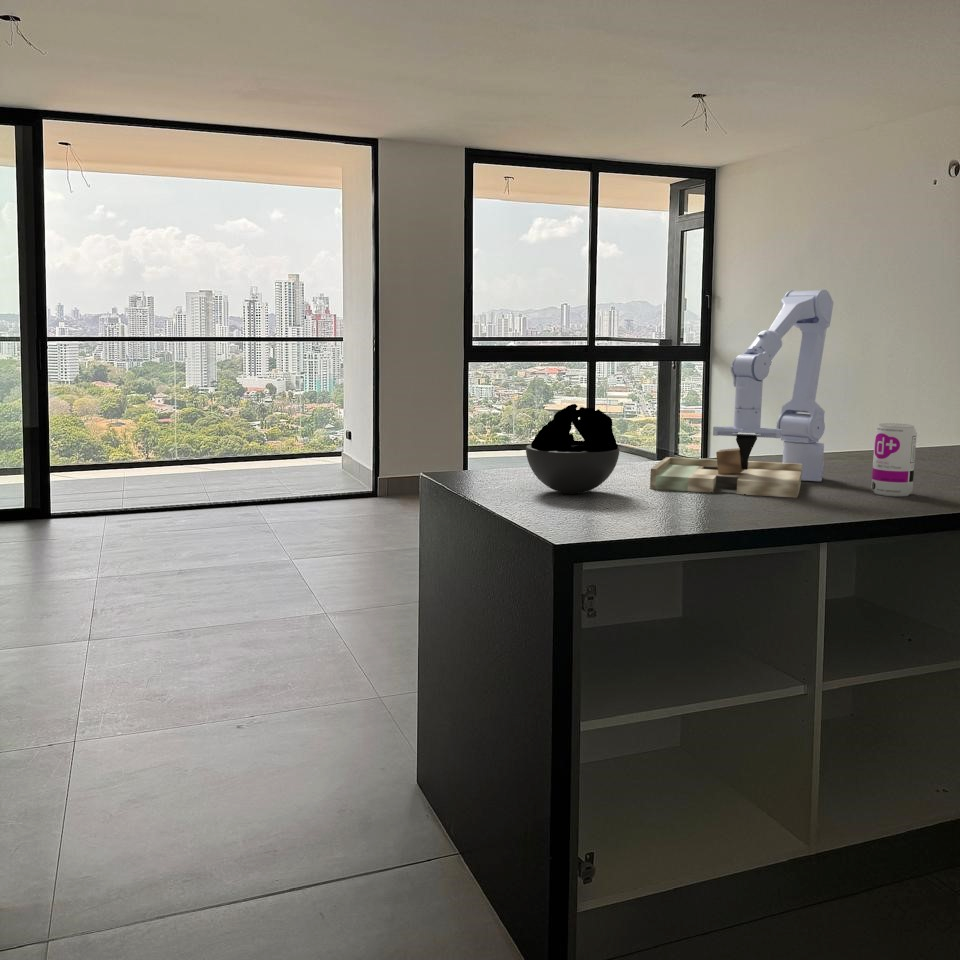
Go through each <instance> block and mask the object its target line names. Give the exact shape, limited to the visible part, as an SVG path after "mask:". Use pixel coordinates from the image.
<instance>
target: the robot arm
mask: <svg viewBox="0 0 960 960" xmlns="http://www.w3.org/2000/svg"><path fill="white" fill-rule="evenodd" d="M780 301H781V302H780V310H779V312H778V314H777V315H776V317H775V319H774V320H773V322H772V323H771V325H770V327H768V329H766V330H762V331H759V333H758V334H757V335H756V337H755V338H754V340H753V341H752V342H751V344H750V345H749V347H747V349H746V350H745V351H744V352H743V353H740V354H738V355H737V356H735V358H734V359H733V361H732V364H731V366H730V373H731V376H732V377H733V380H732V382H733V384H732V385H733V386H734V387H735V391H734V393H735V395H734V396H735V397H734V416H733V426H717V425H716V426H713V427H712V436H714V437H715V436H716V437H717V436H720V437H721V436H723V437H736V439H735V440H736V443H737V446H738V448H739V449H740V451H741V455H742V458H743V466H742V469H744V470H747V469H748V461H749V458H750V456H751V455H750V454H751V452H752V451H753V448H754V446H755V444H756V443H757V440H758V438H769V439H770V438H771V439H780V441H783V447H782V463H796V464H802V472H801V481H803V482H804V481H806V482H823V481H822V480H823V475H824V474H825V466H824V455H825V454H824V453H825V452H824V450H825V449H824V448H825V443H824V442H819V441H820V439H821V438H822V437H823V435H824V433H825V431H826V430H825V429H826V422H825V413H826V412H825V410H824V408H823V407H821V405H820V404H818V402H817V401H816V398H817V392H818V385H819V380H820V373H821V366H822V360H823V353H824V347H825V341H826V337H827V336H826V335H827V334H826V333H827V329H828V328H830V326H831V320H832V313H833V308H834V301H833V298H832V297H831V294H830V292H829V291H828V290H827V289H818V290H817V289H816V290H793V289H792V290H791V289H790V290H788V291H787V292H786V293H785V294H784V296H783V297H782V298H781V300H780ZM793 326H794V327H795V328H798V329H799V330H800V331H801V341H800V346H799V353H798V358H797V365H796V370H795V371H796V372H795V378H794V384H793V385H794V386H793V391H792V397H791V399H789V401H787V402H786V403H785V404H783V405H782V406H781V410H780V414H779V416H778V418H777V420H776V424H775V425H776V426H775V428H768V427H767V428H766V427H761V420H762V419H761V418H762V403H763V402H762V401H763V384H764V383H763V381H764V380H765V379H766V378H767V377H768V375H769V373H770V368H771V365H772V360H773V359H774V358H775V356H776V355H777V354H778V352H779V351H780V350H781V348H782V347H783V341H782V340H783V337H784V336H785V335H786V334H788V332H789V331H790V330H791V329H792V328H793Z"/></svg>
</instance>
